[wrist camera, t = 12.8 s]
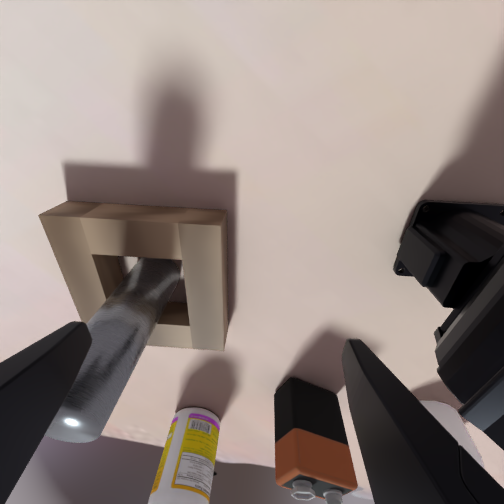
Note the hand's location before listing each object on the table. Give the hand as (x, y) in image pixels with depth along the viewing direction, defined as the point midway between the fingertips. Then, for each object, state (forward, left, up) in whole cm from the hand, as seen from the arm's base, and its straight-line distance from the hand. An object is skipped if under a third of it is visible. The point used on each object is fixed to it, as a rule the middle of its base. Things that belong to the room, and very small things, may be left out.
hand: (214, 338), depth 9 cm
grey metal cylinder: (+8, +7, -13) cm, 17 cm away
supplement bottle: (+6, +32, -13) cm, 35 cm away
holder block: (+8, +7, -13) cm, 17 cm away
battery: (-8, +24, -13) cm, 29 cm away
